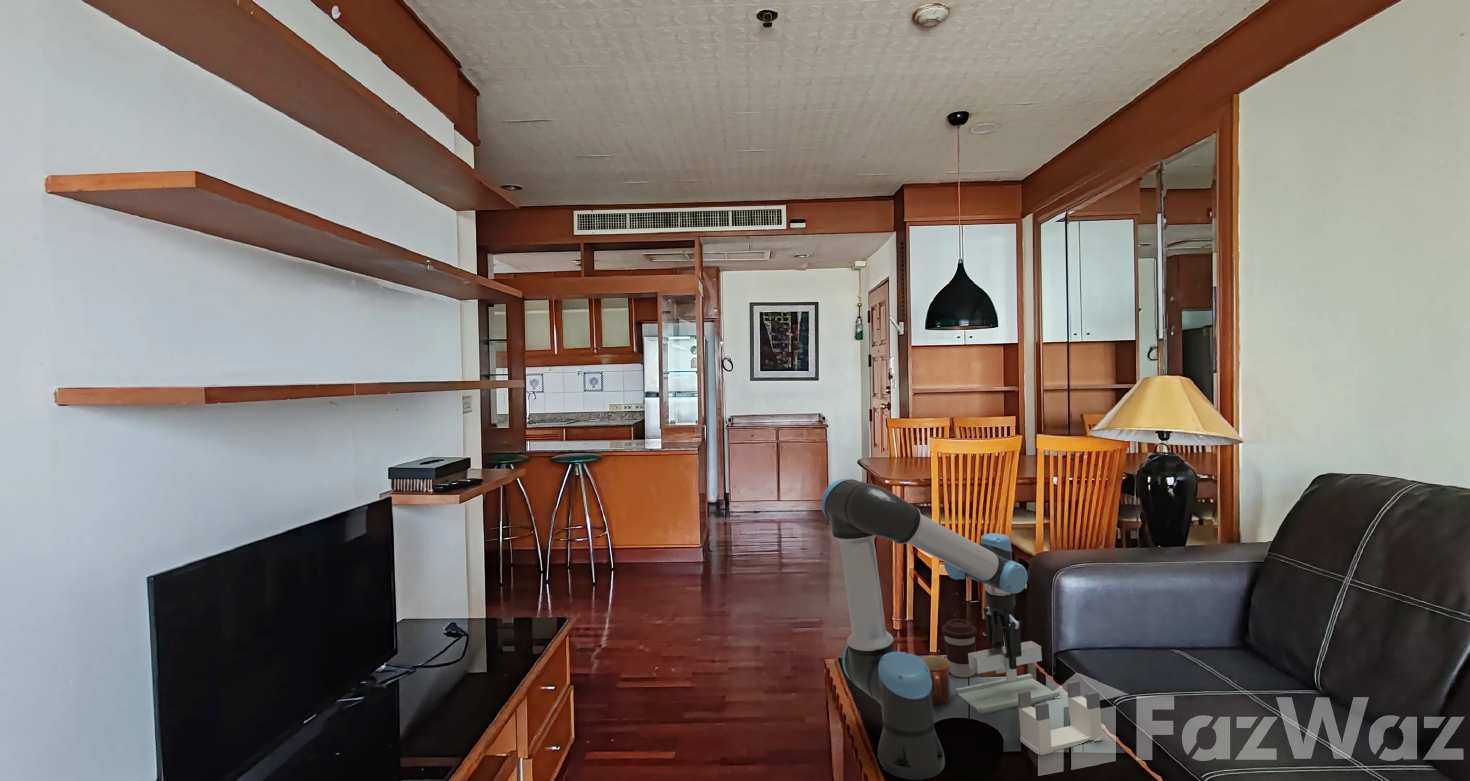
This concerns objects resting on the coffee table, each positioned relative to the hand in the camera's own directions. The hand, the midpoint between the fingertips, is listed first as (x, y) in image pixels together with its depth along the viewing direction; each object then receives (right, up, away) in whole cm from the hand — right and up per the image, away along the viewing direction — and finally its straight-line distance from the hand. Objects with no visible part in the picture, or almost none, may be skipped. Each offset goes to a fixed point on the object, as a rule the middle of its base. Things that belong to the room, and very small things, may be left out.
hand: (1006, 675), depth 180 cm
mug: (-19, -7, -1) cm, 20 cm away
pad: (0, -6, 0) cm, 6 cm away
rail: (0, +3, 0) cm, 3 cm away
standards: (+4, -6, -23) cm, 24 cm away
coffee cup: (-7, -6, +16) cm, 18 cm away
